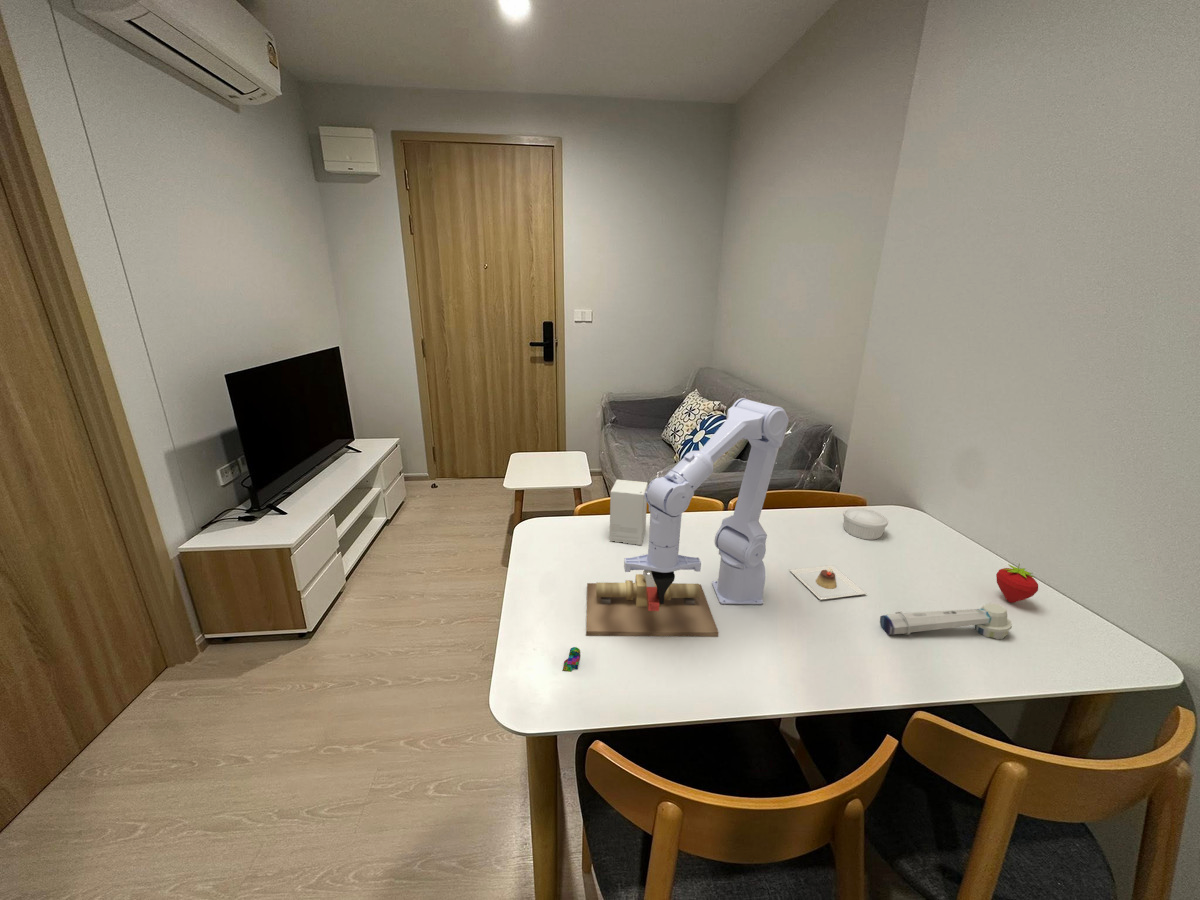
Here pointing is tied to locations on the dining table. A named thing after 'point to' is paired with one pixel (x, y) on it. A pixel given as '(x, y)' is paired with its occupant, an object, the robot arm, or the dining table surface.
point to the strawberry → (1016, 583)
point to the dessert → (828, 580)
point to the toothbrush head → (950, 621)
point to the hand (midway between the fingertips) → (659, 601)
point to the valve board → (628, 614)
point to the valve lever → (651, 591)
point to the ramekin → (864, 523)
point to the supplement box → (628, 511)
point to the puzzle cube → (572, 660)
